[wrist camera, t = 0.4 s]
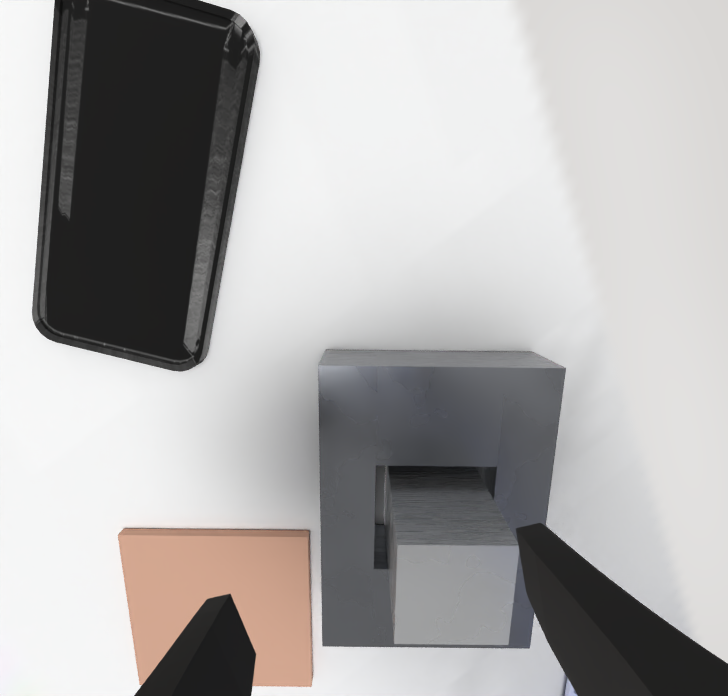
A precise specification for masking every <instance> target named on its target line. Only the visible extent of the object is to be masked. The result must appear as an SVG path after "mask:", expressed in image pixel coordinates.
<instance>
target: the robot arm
mask: <svg viewBox="0 0 728 696" xmlns="http://www.w3.org/2000/svg"><path fill="white" fill-rule="evenodd" d="M516 534H517V540H518V546H519V552H520V558H521V564H522V570H523V576H524V582H525V588H526V594H527V596H528V598H529V601H530V603H531V605H532V607H533V610H534V612H535V614H536V617H537V619H538V621H539V623H540V625H541V628H542V630H543V632H544V634H545V636H546V639H547V641H548V643H549V645H550V647H551V648H552V650H553V652H554V654H555V656H556V658H557V659H558V661H559V663H560V665H561V667H562V668H563V670H564V672H565V674H566V676H567V677H568V678H567V684H566V690H565V696H728V664H727V663H726V662H724V661H723V660H721V659H720V658H718V657H717V656H715V655H714V654H712V653H711V652H709V651H708V650H706V649H705V648H703V647H702V646H701V645H699V644H698V643H696V642H695V641H693V640H692V639H690V638H689V637H688V636H686V635H685V634H683V633H682V632H680V631H679V630H678V629H676V628H675V627H673V626H672V625H671V624H669V623H668V622H666V621H665V620H664V619H662V618H661V617H659V616H658V615H657V614H655V613H654V612H653V611H651V610H650V609H648V608H647V607H646V606H644V605H643V604H642V603H640V602H639V601H638V600H636V599H635V598H634V597H632V596H631V595H630V594H629V593H627V592H626V591H625V590H623V589H622V588H621V587H619V586H618V585H617V584H615V583H614V582H613V581H612V580H610V579H609V578H608V577H606V576H605V575H604V574H603V573H601V572H600V571H599V570H598V569H596V568H595V567H594V566H593V565H591V564H590V563H589V562H588V561H587V560H585V559H584V558H583V557H582V556H580V555H579V554H578V553H577V552H576V551H574V550H573V549H572V548H571V547H570V546H568V545H567V544H566V543H565V542H564V541H563V540H561V539H560V538H559V537H558V536H557V535H556V534H554V533H553V532H552V531H551V530H550V529H549V528H547V527H546V526H545V525H544V524H542V523H536V524H532V525H528V526H523V527H519V528H516ZM255 660H256V652H255V650H254V648H253V645H252V643H251V641H250V638H249V636H248V634H247V631H246V629H245V627H244V624H243V622H242V620H241V617H240V615H239V612H238V610H237V608H236V605H235V603H234V601H233V598H232V596H231V594H226V595H222V596H217V597H213V598H209V599H207V600H206V601H205V602H204V603H203V605H202V606H201V607H200V608H199V610H198V611H197V612H196V614H195V615H194V616H193V618H192V619H191V620H190V622H189V623H188V624H187V626H186V627H185V628H184V630H183V631H182V633H181V634H180V635H179V637H178V638H177V639H176V641H175V642H174V643H173V645H172V646H171V647H170V649H169V650H168V651H167V653H166V654H165V656H164V657H163V658H162V660H161V661H160V662H159V664H158V665H157V666H156V668H155V669H154V670H153V671H152V673H151V674H150V675H149V677H148V678H147V679H146V681H145V682H144V683H143V685H142V686H141V687H140V689H139V690H138V691H137V693H136V694H135V695H134V696H251V692H252V685H253V677H254V669H255Z"/></svg>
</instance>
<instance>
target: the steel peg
mask: <svg viewBox="0 0 728 696" xmlns="http://www.w3.org/2000/svg"><path fill="white" fill-rule="evenodd" d="M384 523H385V536H386V548H387V561H388V573H389V586H390V598H391V611H392V623H393V636H394V644H444V645H508V644H509V635H510V627H511V618H512V609H513V600H514V591H515V583H516V574H517V565H518V556H519V546H518V542H517V540H516V539H515V537H514V535H513V533H512V532H511V530H510V528H509V526H508V524H507V523H506V521H505V519H504V517H503V516H502V514H501V512H500V510H499V508H498V507H497V505H496V503H495V501H494V500H493V498H492V496H491V494H490V492H489V491H488V489H487V487H486V485H485V484H484V482H483V480H482V478H481V476H480V475H479V473H478V471H477V469H476V468H475V467H471V466H385V486H384Z"/></svg>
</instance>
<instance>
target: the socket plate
mask: <svg viewBox="0 0 728 696" xmlns="http://www.w3.org/2000/svg"><path fill="white" fill-rule="evenodd" d="M565 371H566V368H564V367H562V366H560V365H558V364H556V363H554V362H552V361H550V360H548V359H546V358H544V357H542V356H540V355H538V354H536V353H534V352H490V351H400V350H326V351H325V353H324V355H323V357H322V359H321V361H320V363H319V365H318V378H319V444H320V510H321V576H322V642H323V646H344V647H441V648H530V642H531V634H532V626H533V618H534V610H533V607H532V605H531V603H530V601H529V598H528V596H527V594H526V588H525V582H524V576H523V570H522V564H521V558H520V552H519V556H518V565H517V574H516V583H515V591H514V600H513V609H512V618H511V627H510V635H509V644H508V645H444V644H394V636H393V623H392V611H391V598H390V586H389V573H388V561H387V548H386V536H385V525H375V482H376V465H378V466H471V467H475V468H476V469H477V471H478V473H479V475H480V476H481V478H482V480H483V482H484V484H485V485H486V487H487V489H488V491H489V492H490V494H491V496H492V498H493V500H494V501H495V503H496V505H497V507H498V508H499V510H500V512H501V514H502V516H503V517H504V519H505V521H506V523H507V524H508V526H509V528H510V530H511V532H512V533H513V535H514V537H515V539H516V540H517V534H516V528H519V527H523V526H528V525H532V524H536V523H542V524H544V525H545V526H546V518H547V510H548V502H549V495H550V487H551V479H552V471H553V464H554V456H555V448H556V440H557V433H558V425H559V417H560V409H561V402H562V394H563V386H564V379H565ZM517 542H518V540H517Z"/></svg>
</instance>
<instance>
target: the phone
mask: <svg viewBox="0 0 728 696" xmlns="http://www.w3.org/2000/svg"><path fill="white" fill-rule="evenodd" d="M259 60H260V51H259V47H258V43H257V40H256V38H255V36H254V34H253V32H252V30H251V28H250V26H249V25H248V23H247V21H246V20H245V19H244V18H243V17H242V16H241V15H240V14H238V13H236V12H234V11H232V10H229V9H226V8H222V7H219V6H216V5H213V4H209V3H206V2H203V1H199V0H55V6H54V19H53V33H52V47H51V61H50V75H49V89H48V102H47V116H46V130H45V143H44V157H43V171H42V184H41V198H40V212H39V225H38V239H37V253H36V266H35V280H34V293H33V307H32V315H33V321H34V323H35V326H36V328H37V329H38V330H39V332H40V333H41V334H42V335H43V336H45V337H46V338H47V339H49V340H52V341H54V342H57V343H62V344H66V345H70V346H74V347H78V348H82V349H86V350H90V351H94V352H98V353H103V354H107V355H111V356H115V357H119V358H123V359H127V360H131V361H135V362H139V363H144V364H148V365H152V366H156V367H160V368H164V369H168V370H172V371H186V370H189V369H191V368H193V367H194V366H196V365H198V364H199V363H201V362H202V361H203V360H204V359H205V357H206V355H207V352H208V349H209V344H210V338H211V332H212V327H213V321H214V315H215V310H216V304H217V298H218V293H219V287H220V282H221V276H222V270H223V265H224V259H225V253H226V248H227V242H228V237H229V231H230V225H231V220H232V214H233V208H234V203H235V197H236V191H237V186H238V180H239V175H240V169H241V163H242V158H243V152H244V146H245V141H246V135H247V129H248V124H249V118H250V113H251V107H252V101H253V96H254V90H255V84H256V79H257V73H258V67H259Z"/></svg>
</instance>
